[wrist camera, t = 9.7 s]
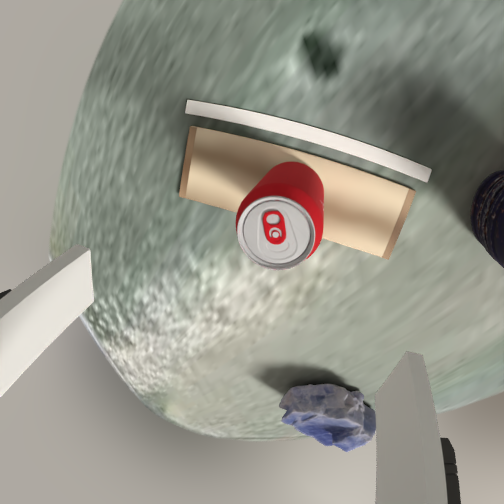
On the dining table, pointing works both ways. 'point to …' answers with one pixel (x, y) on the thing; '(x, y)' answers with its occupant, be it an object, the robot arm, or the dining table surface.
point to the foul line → (310, 136)
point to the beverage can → (282, 217)
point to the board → (331, 173)
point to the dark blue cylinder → (490, 215)
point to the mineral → (329, 415)
